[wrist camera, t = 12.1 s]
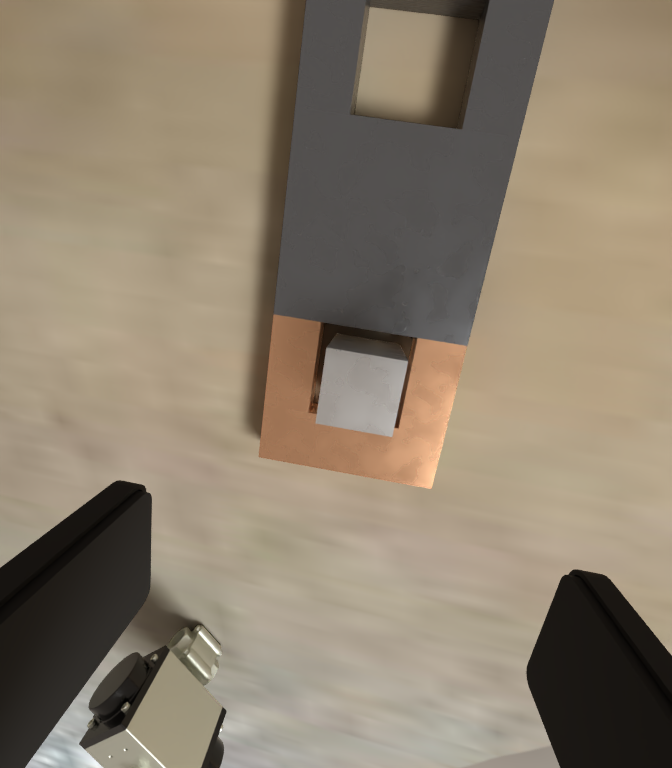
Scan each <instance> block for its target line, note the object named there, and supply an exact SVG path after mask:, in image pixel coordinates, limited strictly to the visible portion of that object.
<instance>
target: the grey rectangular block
mask: <svg viewBox="0 0 672 768" xmlns="http://www.w3.org/2000/svg"><path fill="white" fill-rule="evenodd" d="M407 365H408V360H407V358H406V356H405V354H404V352H403V350H402V348H401V346H400V344H398V343H392V342H386V341H380V340H374V339H368V338H362V337H356V336H350V335H343V334H336V335H335V337H334V338H333V339H332V341H331V342H330V344H329V345H328V346H327V348H326V355H325V361H324V368H323V375H322V382H321V389H320V395H319V402H318V409H317V416H316V424H322V425H327V426H333V427H338V428H344V429H349V430H355V431H361V432H366V433H372V434H377V435H383V436H389V437H392V436H393V431H394V427H395V422H396V417H397V412H398V408H399V403H400V398H401V393H402V389H403V384H404V379H405V374H406V370H407Z"/></svg>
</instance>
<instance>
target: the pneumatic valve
mask: <svg viewBox="0 0 672 768" xmlns="http://www.w3.org/2000/svg"><path fill="white" fill-rule="evenodd" d="M221 653H222V650H221V646H220V645H219V643H218V642H217V641H216V640H215V639H214V638H213V637H212V636H211V634H210V633H209V632H208V631H207V630H206V629H205V628H204V627H203V625H201V626H200V625H197V626H196V627H195V629H194V630H193V631H190V629H189V628H183V629H181V630H180V631H179V632H177V633H176V634H175V635H174V637H173V638H172V639H171V641H170V642H169V644H168V647H167V646H166V645H165V646H164V647H162V648H160V649H158V650H156V651H154V652H152V653H150V654H148V655H146V656H145V657H142V656H141V655H140V654H139V653H138V652H135V653H132V654H130V655H129V656H127V657H126V658H124V659H123V660H122V661H121V662H120V663H118V664H117V665H116V666H115V667H114V668H113V669H112V670H111V671H110V673H109V674H108V675H107V676H106V677H105V678H104V680H103V681H102V682H101V683H100V685H99V686H98V688H97V689H96V691H95V692H94V694H93V696H92V698H91V700H90V702H89V710H90V711H91V712H92V713H93V714H94V716H93V719H92V720H91V721H90V722H89V723H88V725H87V727H88V728H89V729H88V731H87V732H86V734H85V735H84V737H83V738H82V740H81V742H80V743H79V744H80V745H81V746H82V747H83V748H84V749H85V750H86V751H87V752H88V753H89V754H90V755H91V756H92V757H93V758H94V759H95V760H96V761H97V762H98V763H99V764H100V765H102V766H103V767H104V768H220V765H221V762H222V759H223V754H224V745H223V742H222V740H221V739H220V738H219V737H218V735H219V732H221V730H222V729H223V725H222V723H223V720H224V717H225V714H226V710H225V709H224V708H223V707H222V706H221V705H220V703H219V702H218V701H217V700H216V699H215V698H214V697H213V696H212V695H211V694H210V693H209V692H208V690H207V689H206V688H205V687H204V685H206V684H208V683H209V682H210V681H211V680H212V679H213V677H214V676H215V675H216V673H217V671H218V668H219V664H218V660H217V659H216V657H217V656H220V655H221Z"/></svg>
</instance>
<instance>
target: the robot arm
mask: <svg viewBox="0 0 672 768" xmlns="http://www.w3.org/2000/svg"><path fill="white" fill-rule="evenodd" d="M151 514H152V497H151V494H150V493H147V492H146V488H145V486H143V485H141V484H136V483H131V482H126V481H116V482H114V483H112V484H111V485H110V486H108V487H107V488H106V489H104V490H103V491H102V492H100V493H99V494H98V495H96V496H95V497H94V498H92V499H91V500H90V501H88V502H87V503H86V504H84V505H83V506H82V507H80V508H79V509H78V510H76V511H75V512H74V513H72V514H71V515H70V516H68V517H67V518H66V519H64V520H63V521H62V522H60V523H59V524H58V525H56V526H55V527H54V528H52V529H51V530H50V531H48V532H47V533H46V534H44V535H43V536H42V537H41V538H39V539H38V540H37V541H35V542H34V543H33V544H31V545H30V546H29V547H27V548H26V549H25V550H23V551H22V552H21V553H19V554H18V555H17V556H15V557H14V558H13V559H11V560H10V561H9V562H7V563H6V564H5V565H3V566H2V567H1V568H0V768H25V767H26V765H27V764H28V762H29V761H30V760H31V758H32V757H33V756H34V754H35V753H36V751H37V750H38V749H39V747H40V746H41V745H42V743H43V742H44V740H45V739H46V738H47V736H48V735H49V733H50V732H51V731H52V729H53V728H54V727H55V725H56V724H57V722H58V721H59V720H60V718H61V717H62V716H63V714H64V713H65V711H66V710H67V709H68V707H69V706H70V705H71V703H72V702H73V700H74V699H75V698H76V696H77V695H78V693H79V692H80V691H81V689H82V688H83V687H84V685H85V684H86V682H87V681H88V680H89V678H90V677H91V676H92V674H93V673H94V671H95V670H96V669H97V667H98V666H99V665H100V663H101V662H102V660H103V659H104V658H105V656H106V655H107V653H108V652H109V651H110V649H111V648H112V647H113V645H114V644H115V642H116V641H117V640H118V638H119V637H120V636H121V634H122V633H123V631H124V630H125V629H126V627H127V626H128V625H129V623H130V622H131V620H132V619H133V618H134V616H135V615H136V613H137V612H138V611H139V609H140V608H141V607H142V605H143V604H144V602H145V600H146V598H147V596H148V593H149V590H150V576H151ZM527 681H528V685H529V688H530V691H531V693H532V696H533V698H534V701H535V704H536V706H537V709H538V711H539V714H540V717H541V719H542V722H543V724H544V727H545V729H546V732H547V735H548V737H549V740H550V742H551V745H552V747H553V750H554V753H555V755H556V758H557V760H558V763H559V765H560V768H672V656H671V654H670V653H669V652H668V651H667V649H666V648H665V647H664V646H663V644H662V643H661V642H660V641H659V639H658V638H657V637H656V636H655V635H654V633H653V632H652V631H651V630H650V628H649V627H648V626H647V625H646V623H645V622H644V621H643V620H642V618H641V617H640V616H639V615H638V613H637V612H636V611H635V610H634V609H633V607H632V606H631V605H630V604H629V602H628V601H627V600H626V599H625V597H624V596H623V595H622V594H621V592H620V591H619V590H618V589H617V587H616V586H615V585H614V584H613V582H612V581H611V580H610V579H609V578H608V577H607V576H605V575H602V574H598V573H593V572H587V571H582V570H572V571H571V572H570V573H569V575H564V576H563V577H562V578H561V580H560V583H559V585H558V588H557V591H556V593H555V596H554V598H553V601H552V603H551V606H550V609H549V611H548V614H547V616H546V619H545V621H544V624H543V626H542V629H541V632H540V634H539V637H538V639H537V642H536V644H535V647H534V649H533V652H532V655H531V657H530V660H529V662H528V665H527Z"/></svg>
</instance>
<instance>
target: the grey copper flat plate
mask: <svg viewBox="0 0 672 768" xmlns="http://www.w3.org/2000/svg"><path fill="white" fill-rule="evenodd" d="M553 2H554V0H306V8H305V17H304V27H303V36H302V46H301V56H300V65H299V75H298V84H297V94H296V103H295V113H294V123H293V132H292V142H291V151H290V161H289V171H288V180H287V190H286V199H285V209H284V219H283V228H282V238H281V247H280V257H279V267H278V276H277V286H276V295H275V305H274V315H273V324H272V334H271V343H270V353H269V362H268V372H267V382H266V391H265V401H264V410H263V420H262V430H261V439H260V449H259V457H261V458H267V459H272V460H278V461H283V462H288V463H294V464H299V465H305V466H310V467H316V468H321V469H326V470H332V471H337V472H343V473H348V474H353V475H359V476H364V477H370V478H375V479H381V480H386V481H391V482H397V483H402V484H408V485H413V486H419V487H424V488H429V489H432V485H433V481H434V477H435V473H436V469H437V465H438V461H439V457H440V453H441V449H442V445H443V441H444V437H445V433H446V429H447V425H448V421H449V417H450V413H451V409H452V405H453V401H454V397H455V393H456V389H457V385H458V381H459V377H460V373H461V369H462V365H463V361H464V357H465V353H466V349H467V345H468V341H469V337H470V333H471V329H472V325H473V321H474V317H475V313H476V309H477V305H478V301H479V297H480V293H481V289H482V285H483V281H484V277H485V273H486V269H487V265H488V261H489V257H490V253H491V249H492V246H493V242H494V238H495V234H496V230H497V226H498V222H499V218H500V214H501V210H502V206H503V202H504V198H505V194H506V190H507V186H508V182H509V178H510V174H511V170H512V166H513V162H514V158H515V154H516V150H517V146H518V142H519V138H520V134H521V130H522V126H523V122H524V118H525V114H526V110H527V106H528V102H529V98H530V94H531V90H532V86H533V82H534V78H535V74H536V70H537V66H538V62H539V58H540V54H541V50H542V46H543V42H544V38H545V34H546V30H547V26H548V22H549V18H550V14H551V10H552V6H553ZM370 7H377V8H386V9H394V10H403V11H411V12H419V13H428V14H436V15H445V16H453V17H462V18H470V19H479V25H478V30H477V35H476V39H475V44H474V49H473V54H472V58H471V63H470V68H469V73H468V78H467V82H466V87H465V92H464V97H463V101H462V106H461V111H460V116H459V121H458V125H457V129H454V128H447V127H439V126H432V125H424V124H417V123H409V122H402V121H394V120H387V119H380V118H372V117H365V116H357V115H354V113H355V106H356V99H357V92H358V85H359V78H360V71H361V64H362V57H363V50H364V43H365V36H366V29H367V22H368V15H369V8H370ZM325 323H330V324H336V325H342V326H348V327H354V328H360V329H366V330H372V331H379V332H385V333H391V334H397V335H403V336H409V337H413V340H412V345H411V350H410V355H409V359H408V365H407V370H406V374H405V379H404V384H403V389H402V393H401V398H400V403H399V408H398V412H397V417H396V422H395V427H394V431H393V436H392V437H389V436H383V435H377V434H372V433H366V432H361V431H355V430H349V429H344V428H338V427H333V426H327V425H322V424H316V416H317V409H318V404H317V403H313V401H314V394H315V387H316V380H317V373H318V366H319V359H320V352H321V345H322V338H323V331H324V324H325Z"/></svg>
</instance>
